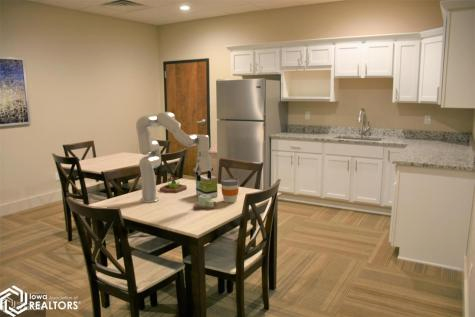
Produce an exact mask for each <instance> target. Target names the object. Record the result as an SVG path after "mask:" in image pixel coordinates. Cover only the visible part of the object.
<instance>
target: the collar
mask: <svg viewBox="0 0 475 317" xmlns="http://www.w3.org/2000/svg"><path fill="white" fill-rule="evenodd" d="M197 196H198V197H197V198H198V201H197V202H198V204H199V205H201V206H204V207H205V206H208V207H214V202H215V201H214V200H212V198H211V196H209V195H201V196H199V195H197Z"/></svg>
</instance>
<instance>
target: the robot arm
mask: <svg viewBox="0 0 475 317" xmlns="http://www.w3.org/2000/svg"><path fill="white" fill-rule="evenodd" d="M181 124H182V123H180V122H179V121H178V120H177V119H176V116H175V114H174V113H172V112H170V111H162V112H159V113H158V114H157V113H156V114H149V115H148V114H147V115H143V116H141V117H139V118H138V119H137V121H136V124H135V128H136V134H137V141H138V149H139V152H140V153H141V154H142V155H147V156H143V157H141V159H140V160H139V161H138V162H139V163H138V166H139V169H140V177H141V178H140V179H141V180H140V181H141V195H142V197H141V198H140V199H139V200H140V202H141V203H145V204H149V203H156V202H158V201H159V197H158V196H157V187H156V186H157V185H156V174H155V170H154V169H156V168H158V167H160V166H161V164H162V155H161V148H160V144H159V142H158V141H157V140H156V139H151V138H152V137H151V132H150V130H149V128H151V129H152V128H158V127H163V128H165V129H166V130H167V131H169V132H170V133H171V134H172V136H173V138H175V140H176V141H177V142H178V143H180V144H181V145H183V146H185V147H186V148H191V147H194V146H197V153H196V155H197V156H196V165H195V167H194V168H193V169H192V170H193V172H194V173H193V174H195V176H197V181H201V176H200V175H201V174H202V173H206V172H207V173H206V174H207V178H209V179H211V176H212V172H213V171H214V167H215V166H214V165H213V163H212V158H211V155H210V137H209V135H207V134H197V133H193V134H187V133H186V132H184V130H182V129H181V127H182V125H181Z"/></svg>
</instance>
